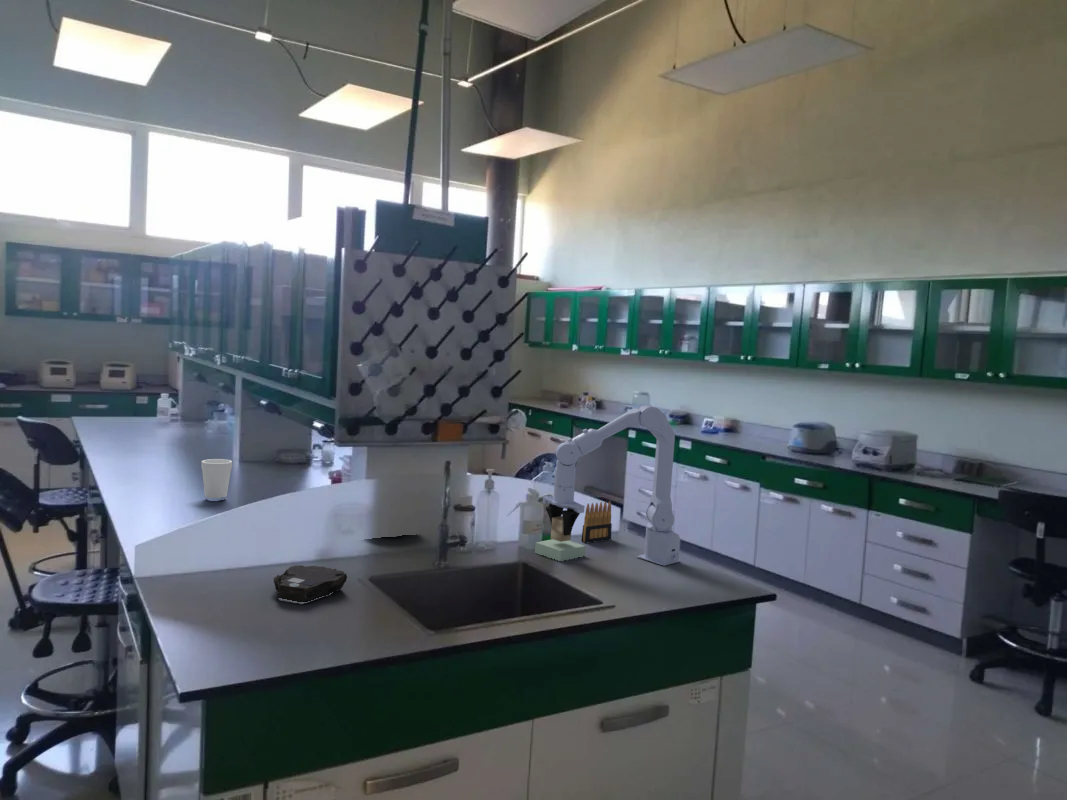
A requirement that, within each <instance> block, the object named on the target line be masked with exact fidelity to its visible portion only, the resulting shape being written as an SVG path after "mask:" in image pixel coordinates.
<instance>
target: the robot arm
mask: <svg viewBox="0 0 1067 800" xmlns="http://www.w3.org/2000/svg"><path fill="white" fill-rule="evenodd" d="M641 426H642V427H643V428H645V429H646V430H648V431H649V432H650V434H652V436H653V437H655V439H656V445H655V455H654V456H655V458H654V469H653V485H652V494H651V496H650V499H649V505H648V506H647V507H646V510H645V516H646V519H647V520H648V522H647V524H646V526H645V538H644V553H642V554H639V555H637V558H639V559H640V560H641V559H642V560H644V561H648V562H651V563H654V564H657V565H661V566H668V565H671V564H677V563H679V562H681V559H680V550H681V549H680V548H681V536H680V534H678V533H676V532H674V531H673V526H674V523H675V515H674V514H673V504H672V498H671V492H672V480H673V479H672V478H673V468H674V467H673V466H674V454H675V440H676V433H675V431H674V429H673V427H672V425H671V423H670V422H669V419H668V418H667V415H666V414H665V413H664V412H663V411H662V410H661V409H659V408H658V407H656V406H653V405H650V404H647V403H645V404H644V403H643V404H642V405H639V406H638V407H636V408H632V409H630V410H628V411H626V412H624V413H622V414H621V415H620V416H618V417H616V418H615V419H613V420H611V421H609V422H608V423H607V424H605V425H603V426H601V427H600V428H598V429H594V428H588V429H587V428H584V429H582V433H580V434H578V435H577V436H574V437H572V438H571V437H569V438H568V439H567V441H566V442H562V443H560V444H558V446H557V447H556V450H555V451H554V452H555V453H554V454H555V457H556V458H557V459H556V462H555V471H554V472H555V473H554V483H553V486H554V487H553V496H550V495H544V496H542V503H543V504H547V505H548V506H545V510H546V512H547V515H548V517H549V521H550V525H551V527H552V518H553V517H559V516H563V523H564V526H563V532H564V535H565V536H566V535H570V534H571V535H572V530H573V528H574V525H575V522H576V521H577V519H578V517H579V516H580V514H583V513H585V509H586V507H585V505H584V504H581V503H579V502H576V501H574V499H575V488H576V487H575V485H576V473H577V471H576V470H577V469H576V462H577V461H578V459H579V458H582V457H583V456H586V455H587V454H590V453H591V452H593V451H594V450H597V449H598V448H600V447H601V446H602V444H603V441H604V440H606V439H607V438H609V437H611V436H613V435H615V434H617V433H619V432H621V431H624V430H626V429H627V428H639V429H640V428H641ZM565 509H566V510H565Z"/></svg>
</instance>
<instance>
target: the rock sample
mask: <svg viewBox="0 0 1067 800" xmlns="http://www.w3.org/2000/svg"><path fill="white" fill-rule="evenodd" d="M347 579H348V575H347V573H345V572H344V570H337V568H331V567H326V566H323V565H321V566H318V565H307V566H305V565H302V564H300V565H297V564H296V565H292V566H290V567H288V568H287V569H285V571H284V572H283V573H282V574H281V575H280V574H277V575H276V576H274V577H273V584H274V588H275V590H276V591H277V599H278V598H282V599H287V600H292V601H297V602H308V601H311V600H314V599H316V598H319V597H322V596H326V595H329V594H330V593H332V592H334V591H337V590H339V591H341V590H342V588H343V587H344V585H345V583H346V581H347ZM340 589H341V590H340ZM278 592H279V593H278ZM337 592H338V591H337ZM332 594H333V593H332Z"/></svg>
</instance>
